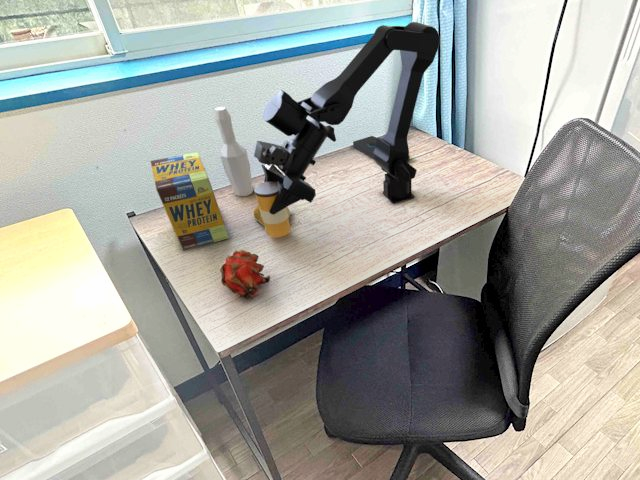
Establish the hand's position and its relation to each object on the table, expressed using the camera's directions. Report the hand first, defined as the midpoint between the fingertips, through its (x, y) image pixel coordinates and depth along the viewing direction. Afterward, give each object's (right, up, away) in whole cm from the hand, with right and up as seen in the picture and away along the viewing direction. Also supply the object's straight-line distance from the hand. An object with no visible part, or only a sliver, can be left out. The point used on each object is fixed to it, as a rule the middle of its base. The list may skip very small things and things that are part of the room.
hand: (266, 207), depth 95 cm
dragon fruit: (-1, -18, -8) cm, 20 cm away
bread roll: (-2, 0, +12) cm, 12 cm away
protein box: (-19, -3, +9) cm, 21 cm away
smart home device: (+24, +25, +39) cm, 52 cm away
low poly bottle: (-13, +9, +22) cm, 27 cm away
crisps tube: (+1, -4, +5) cm, 7 cm away
